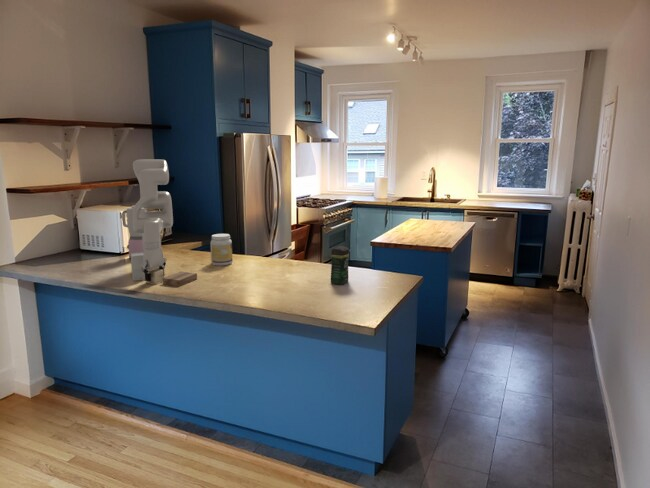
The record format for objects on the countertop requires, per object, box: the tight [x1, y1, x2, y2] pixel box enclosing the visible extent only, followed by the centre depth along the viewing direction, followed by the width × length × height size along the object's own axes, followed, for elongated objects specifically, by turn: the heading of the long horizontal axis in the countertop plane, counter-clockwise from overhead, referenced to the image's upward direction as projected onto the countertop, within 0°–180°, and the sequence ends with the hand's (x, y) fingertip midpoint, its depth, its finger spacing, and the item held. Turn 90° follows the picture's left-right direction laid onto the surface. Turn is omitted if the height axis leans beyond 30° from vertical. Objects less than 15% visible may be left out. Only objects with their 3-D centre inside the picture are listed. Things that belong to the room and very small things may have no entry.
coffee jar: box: [330, 245, 350, 285], centre depth 239 cm, size 10×8×19 cm
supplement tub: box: [209, 233, 233, 267], centre depth 277 cm, size 12×12×17 cm
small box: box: [130, 252, 145, 282], centre depth 244 cm, size 8×6×13 cm
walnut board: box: [162, 271, 198, 287], centre depth 240 cm, size 10×14×3 cm
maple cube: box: [145, 269, 165, 285], centre depth 239 cm, size 6×6×6 cm
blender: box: [121, 204, 148, 260], centre depth 288 cm, size 16×12×32 cm
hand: (155, 278), depth 239 cm, fingers open, 9 cm apart
